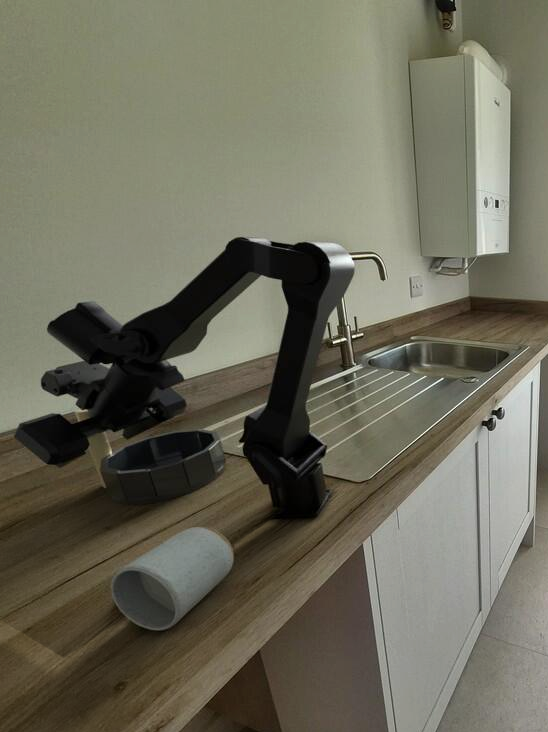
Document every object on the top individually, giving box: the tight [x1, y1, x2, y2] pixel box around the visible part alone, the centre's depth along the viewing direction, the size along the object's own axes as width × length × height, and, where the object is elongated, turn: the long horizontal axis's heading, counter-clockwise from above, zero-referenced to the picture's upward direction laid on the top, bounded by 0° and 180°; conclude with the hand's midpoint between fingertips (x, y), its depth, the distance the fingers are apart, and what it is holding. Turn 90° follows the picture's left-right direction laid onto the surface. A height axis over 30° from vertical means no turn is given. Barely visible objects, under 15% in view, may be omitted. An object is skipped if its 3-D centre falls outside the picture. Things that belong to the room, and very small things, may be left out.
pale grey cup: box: [110, 525, 235, 632], centre depth 44 cm, size 11×8×8 cm
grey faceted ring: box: [74, 408, 227, 506], centre depth 65 cm, size 17×15×13 cm
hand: (94, 450), depth 63 cm, fingers open, 9 cm apart
